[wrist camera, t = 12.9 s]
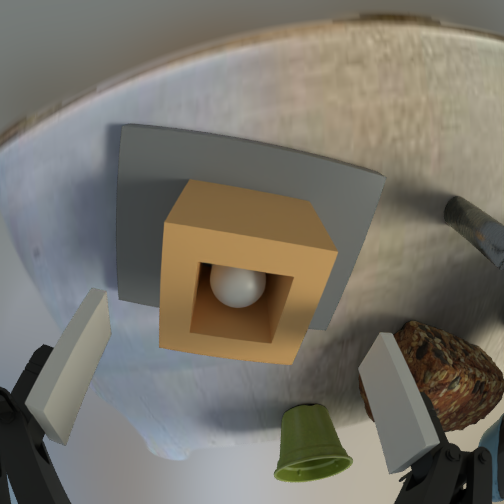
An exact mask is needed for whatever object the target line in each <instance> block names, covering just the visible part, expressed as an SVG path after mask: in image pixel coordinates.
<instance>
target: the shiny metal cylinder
mask: <svg viewBox="0 0 504 504" xmlns="http://www.w3.org/2000/svg"><path fill="white" fill-rule="evenodd" d="M444 218H445V221H446V223H447V224H448V225H450V226H451V227H452V228H453V229H454V230H456V231H457V232H458V233H459V234H460V235H462V236H463V237H464V238H465V239H466V240H468V241H469V242H470V243H471V244H472V245H473V246H474V247H476V248H477V249H478V250H479V251H480V252H481V253H482V254H483V255H484V256H486V257H487V258H488V259H489V260H490V261H491V262H492V263H493V264H494V265H495V266H496V267H497V268H498V269H500V270H504V226H503V225H502V224H501V223H499V222H498V221H496V220H495V219H494V218H492V217H491V216H489V215H488V214H486V213H485V212H484V211H482V210H481V209H479V208H478V207H476V206H475V205H473V204H472V203H470V202H469V201H467V200H465V199H464V198H462V197H454V198H453V199H451V200H450V201H449V202H448V204H447V206H446V208H445V212H444Z"/></svg>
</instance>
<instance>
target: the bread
mask: <svg viewBox="0 0 504 504" xmlns="http://www.w3.org/2000/svg"><path fill="white" fill-rule="evenodd" d="M393 336H394V338H395V340H396V342H397V344H398V346H399V349H400V351H401V353H402V355H403V357H404V359H405V361H406V363H407V365H408V368H409V370H410V372H411V374H412V376H413V379H414V381H415V383H416V385H417V388H418V390H419V392H425V394H426V395H427V396H428V397H429V398H430V399H431V402H432V404H433V406H434V410H435V411H436V413H437V417H438V418H439V420H440V423H441V425H442V428H443V430H444V432H449V431H454V430H463V429H464V428H465V427H467V426H469V425H471V424H476V423H477V422H478V421H479V420H480V419H484V418H485V417H486V415H487V414H489V413H490V412H491V411H492V410H493V409H494V408H495V406H496V405H497V404H498V403H499V402H500V400H501V399H502V395H503V393H504V379H503V373H502V372H501V370H500V369H499V368H498V367H497V366H496V364H495V363H494V362H493V361H492V358H491V357H489V356H488V355H487V354H486V352H484V351H483V350H482V349H481V348H480V347H479V346H474V345H472V344H470V343H468V342H467V341H465V340H464V339H460V338H459V337H457V336H454V335H452V334H450V333H448V332H446V331H443V330H441V329H436V328H435V327H431V326H429V325H428V326H427V325H425V324H422V323H419V322H417V321H410V322H408V323H406V324H405V325H404V326H403V329H402V330H400V331H399V332H397V333H396V334H394V335H393ZM359 389H360V394H361V397H362V398H363V400H364V403H365V409H366V413H367V415H368V416H369V418H370V419H371V420H372V421H373V422H375V421H374V418H373V414H372V411H371V408H370V404H369V401H368V398H367V395H366V392H365V388H364V385H363V382H362V379H361V376H360V373H359Z"/></svg>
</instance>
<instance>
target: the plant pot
mask: <svg viewBox="0 0 504 504" xmlns="http://www.w3.org/2000/svg"><path fill="white" fill-rule="evenodd" d="M352 463H353V459H352V458H351V457H350V456H348V455H347V453H346V450H345V449H344V448H343V447H342V445H341V443H340V440H339V438H338V436H337V433H336V431H335V428H334V426H333V423H332V420H331V418H330V416H329V413H328V410H327V409H326V408H325V407H324V406H322V405H318V404H316V405H313V406H307V405H301V406H297V407H294V408H292V409H290V410H288V411H287V412H285V413H284V415H283V418H282V425H281V444H280V459H279V461H278V464H277V469H276V470H275V472H274V477H275V478H276V479H277V480H280V481H284V482H307V481H314V480H319V479H323V478H327V477H330V476H333V475H336V474H338V473H341V472H342V471H344V470H346V469H348V468H349V467H350V466H351V465H352Z"/></svg>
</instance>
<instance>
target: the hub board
mask: <svg viewBox="0 0 504 504" xmlns="http://www.w3.org/2000/svg"><path fill="white" fill-rule="evenodd" d="M189 179H192V180H198V181H205V182H211V183H217V184H223V185H229V186H234V187H240V188H245V189H251V190H256V191H261V192H267V193H272V194H277V195H282V196H287V197H292V198H297V199H301V200H306V201H310V203H311V205H312V206H313V208H314V210H315V212H316V213H317V215H318V217H319V218H320V220H321V222H322V224H323V225H324V227H325V229H326V231H327V232H328V234H329V236H330V238H331V240H332V241H333V243H334V245H335V247H336V249H337V250H338V254H337V257H336V260H335V262H334V265H333V268H332V270H331V273H330V275H329V278H328V280H327V283H326V286H325V288H324V291H323V293H322V296H321V298H320V301H319V303H318V306H317V308H316V310H315V313H314V315H313V318H312V320H311V322H310V325H309V327H308V329H316V330H326V329H327V327H328V325H329V323H330V321H331V318H332V316H333V314H334V312H335V310H336V307H337V305H338V303H339V301H340V298H341V296H342V294H343V292H344V289H345V287H346V285H347V282H348V280H349V277H350V275H351V273H352V270H353V268H354V265H355V263H356V260H357V258H358V255H359V253H360V250H361V248H362V245H363V243H364V240H365V237H366V235H367V232H368V229H369V227H370V224H371V221H372V218H373V216H374V213H375V210H376V207H377V204H378V201H379V199H380V196H381V193H382V190H383V187H384V184H385V181H386V177H385V176H383V175H382V174H380V173H379V172H377V171H373V170H370V169H367V168H363V167H360V166H357V165H353V164H350V163H346V162H342V161H339V160H335V159H331V158H328V157H324V156H320V155H316V154H312V153H308V152H303V151H299V150H295V149H291V148H286V147H282V146H277V145H272V144H267V143H263V142H258V141H252V140H247V139H242V138H236V137H231V136H225V135H219V134H212V133H206V132H199V131H192V130H184V129H177V128H168V127H159V126H150V125H139V124H127V125H124V126H122V130H121V140H120V151H119V164H118V181H117V208H116V252H117V279H118V296H119V300H123V301H128V302H133V303H138V304H143V305H148V306H153V307H159V308H160V283H161V263H162V247H163V233H164V222H165V220H166V218H167V217H168V215H169V213H170V211H171V210H172V208H173V206H174V205H175V203H176V201H177V199H178V198H179V196H180V194H181V193H182V191H183V189H184V188H185V186H186V184H187V183H188V181H189ZM203 266H207V267H212V268H211V275H210V284H211V289H212V291H213V293H214V295H215V296H216V298H217V299H218V300H219V301H220V302H222V303H223V304H225V305H227V306H230V307H234V308H242V307H247V306H249V305H251V304H253V303H255V302H256V301H257V300H258V299H259V298H260V297H261V295H262V294H263V292H264V289H265V285H266V273H265V272H259V271H253V270H247V269H241V268H234V267H228V266H222V265H216V264H210V263H204V262H203Z"/></svg>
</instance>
